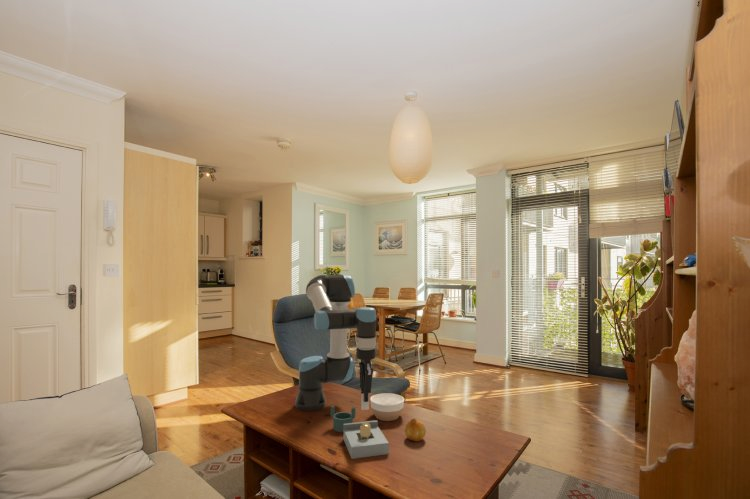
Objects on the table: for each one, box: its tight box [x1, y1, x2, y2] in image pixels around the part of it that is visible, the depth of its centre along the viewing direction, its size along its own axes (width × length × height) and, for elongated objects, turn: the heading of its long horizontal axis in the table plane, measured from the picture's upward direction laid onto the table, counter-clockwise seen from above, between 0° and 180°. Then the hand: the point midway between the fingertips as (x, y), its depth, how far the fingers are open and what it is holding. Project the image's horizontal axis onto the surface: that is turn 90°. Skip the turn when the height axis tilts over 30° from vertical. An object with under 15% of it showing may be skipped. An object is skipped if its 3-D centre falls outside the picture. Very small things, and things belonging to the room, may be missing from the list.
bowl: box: [369, 392, 405, 422], centre depth 174 cm, size 16×16×8 cm
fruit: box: [404, 418, 427, 442], centre depth 151 cm, size 8×8×8 cm
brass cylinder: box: [360, 423, 371, 440], centre depth 144 cm, size 4×4×8 cm
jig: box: [342, 420, 390, 460], centre depth 145 cm, size 16×14×6 cm
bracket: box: [330, 405, 356, 433], centre depth 161 cm, size 9×9×9 cm
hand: (365, 409), depth 145 cm, fingers closed
